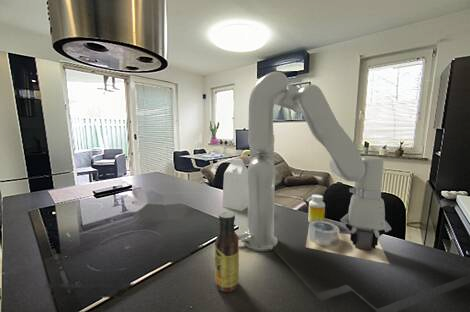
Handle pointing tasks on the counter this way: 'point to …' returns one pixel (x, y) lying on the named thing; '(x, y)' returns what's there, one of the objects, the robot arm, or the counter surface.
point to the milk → (235, 186)
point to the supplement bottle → (316, 209)
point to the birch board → (351, 249)
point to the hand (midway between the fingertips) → (363, 244)
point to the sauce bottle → (226, 254)
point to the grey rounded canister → (364, 238)
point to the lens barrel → (323, 233)
